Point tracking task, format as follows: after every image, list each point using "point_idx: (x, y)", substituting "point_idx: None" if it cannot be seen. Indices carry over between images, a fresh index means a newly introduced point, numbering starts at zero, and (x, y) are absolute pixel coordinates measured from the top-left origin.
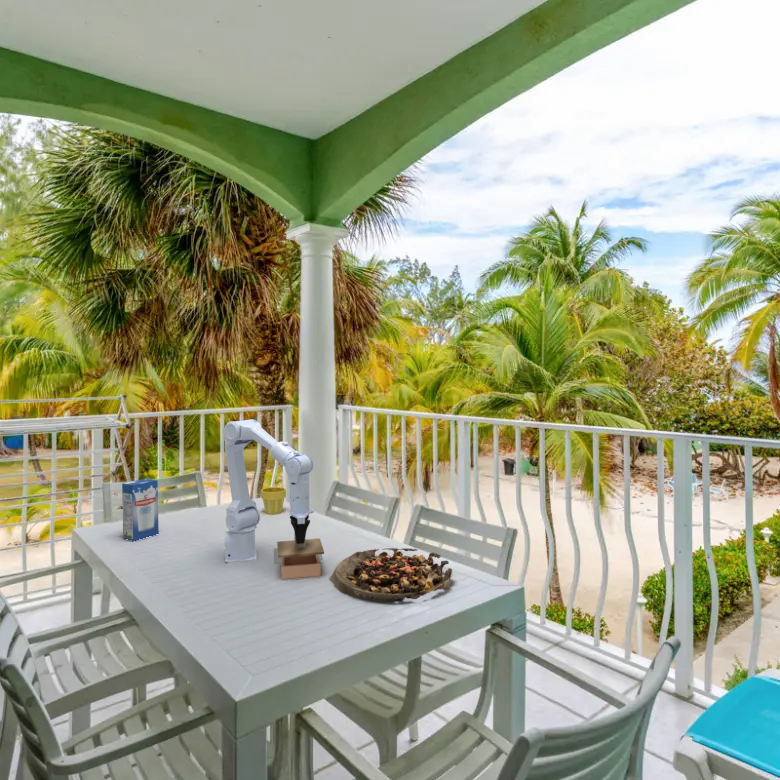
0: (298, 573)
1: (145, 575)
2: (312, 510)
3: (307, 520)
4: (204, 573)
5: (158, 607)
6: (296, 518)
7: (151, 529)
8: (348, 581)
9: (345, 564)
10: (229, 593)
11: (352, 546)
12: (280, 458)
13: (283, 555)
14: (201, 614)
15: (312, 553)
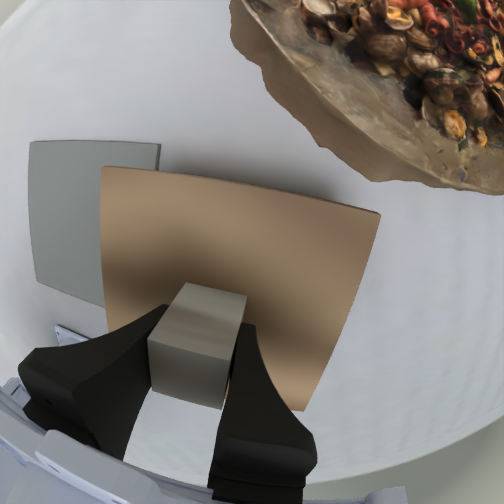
0: None
1: (166, 470)
2: (105, 496)
3: (249, 457)
4: (174, 435)
5: (309, 480)
6: (112, 447)
7: None
8: (492, 164)
9: (344, 86)
10: (314, 429)
11: (68, 33)
12: None
13: (310, 397)
14: (376, 451)
15: (357, 282)
